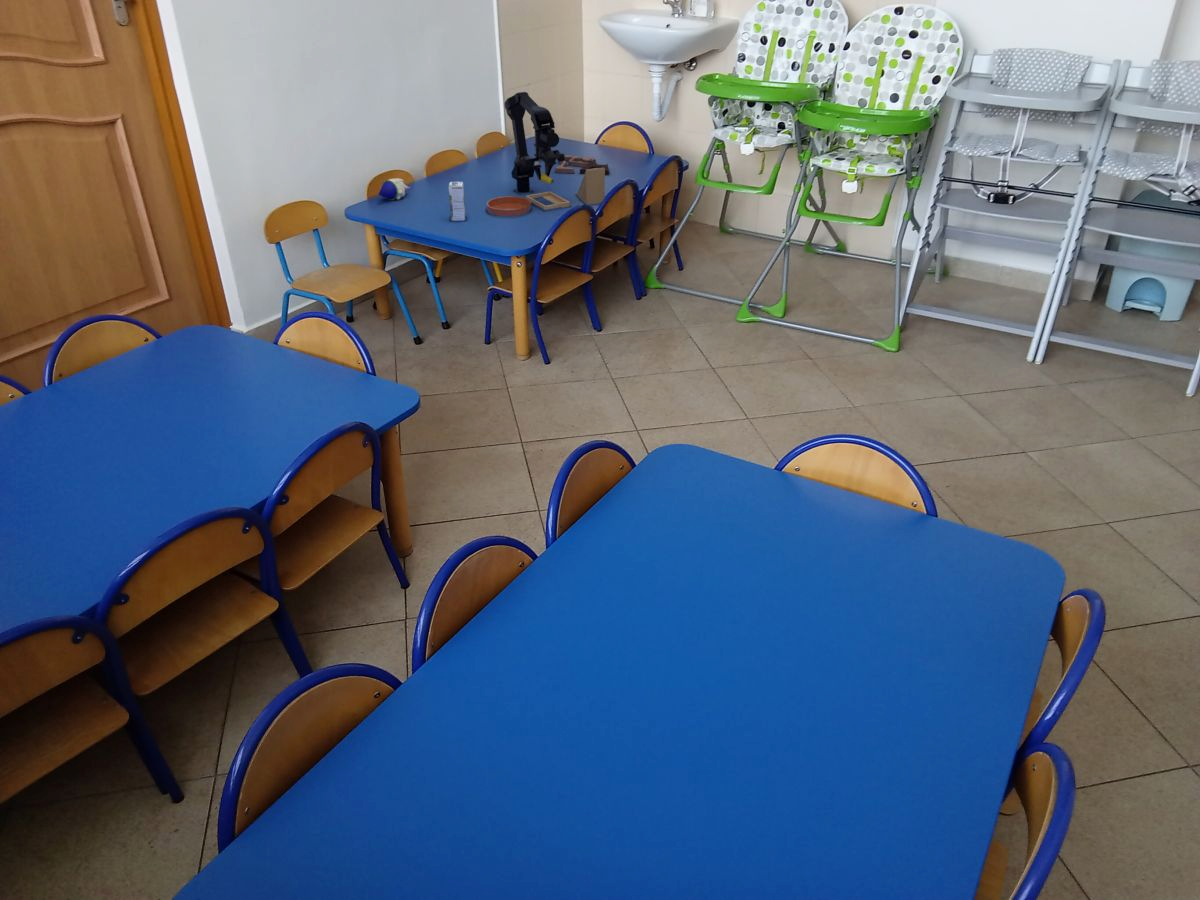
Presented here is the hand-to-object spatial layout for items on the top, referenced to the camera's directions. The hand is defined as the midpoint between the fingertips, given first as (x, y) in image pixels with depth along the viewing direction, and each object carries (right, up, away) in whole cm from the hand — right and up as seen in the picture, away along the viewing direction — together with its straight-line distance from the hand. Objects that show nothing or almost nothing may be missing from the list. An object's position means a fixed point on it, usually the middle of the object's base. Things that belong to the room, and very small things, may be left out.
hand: (543, 179), depth 378 cm
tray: (+1, -8, +6) cm, 11 cm away
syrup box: (-34, -20, -11) cm, 41 cm away
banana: (0, -1, 0) cm, 1 cm away
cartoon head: (-66, -5, +13) cm, 68 cm away
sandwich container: (+20, -5, +12) cm, 24 cm away
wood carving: (+16, +22, +54) cm, 61 cm away
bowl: (-14, -14, -2) cm, 20 cm away
